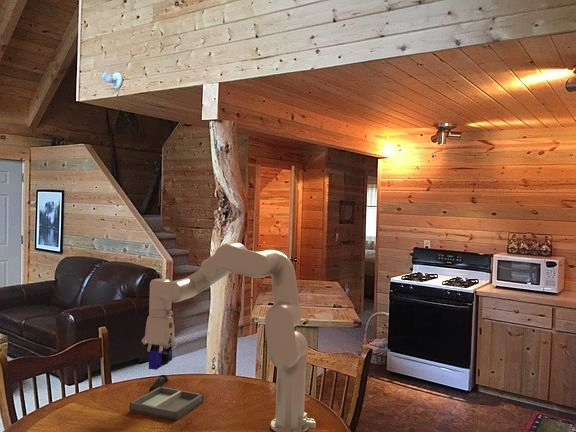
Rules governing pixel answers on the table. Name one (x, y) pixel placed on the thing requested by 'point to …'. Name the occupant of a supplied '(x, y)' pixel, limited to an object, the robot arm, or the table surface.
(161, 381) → the electric trimmer
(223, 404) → the table surface
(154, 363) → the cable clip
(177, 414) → the organiser tray
